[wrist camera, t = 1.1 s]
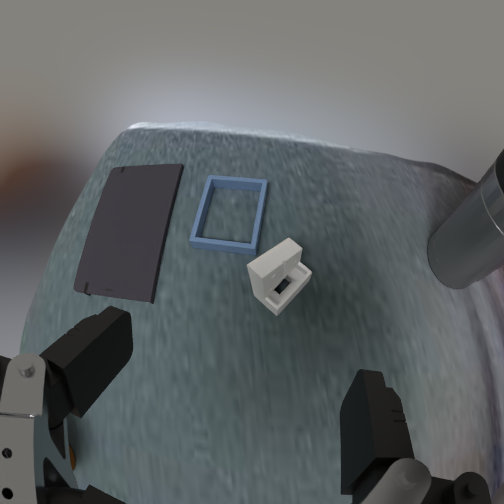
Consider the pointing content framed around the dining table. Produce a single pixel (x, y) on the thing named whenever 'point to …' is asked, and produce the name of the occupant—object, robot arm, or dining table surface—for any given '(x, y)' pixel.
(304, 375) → the dining table surface
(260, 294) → the white angled block
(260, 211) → the blue rectangular frame
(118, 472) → the dining table surface
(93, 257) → the notebook
